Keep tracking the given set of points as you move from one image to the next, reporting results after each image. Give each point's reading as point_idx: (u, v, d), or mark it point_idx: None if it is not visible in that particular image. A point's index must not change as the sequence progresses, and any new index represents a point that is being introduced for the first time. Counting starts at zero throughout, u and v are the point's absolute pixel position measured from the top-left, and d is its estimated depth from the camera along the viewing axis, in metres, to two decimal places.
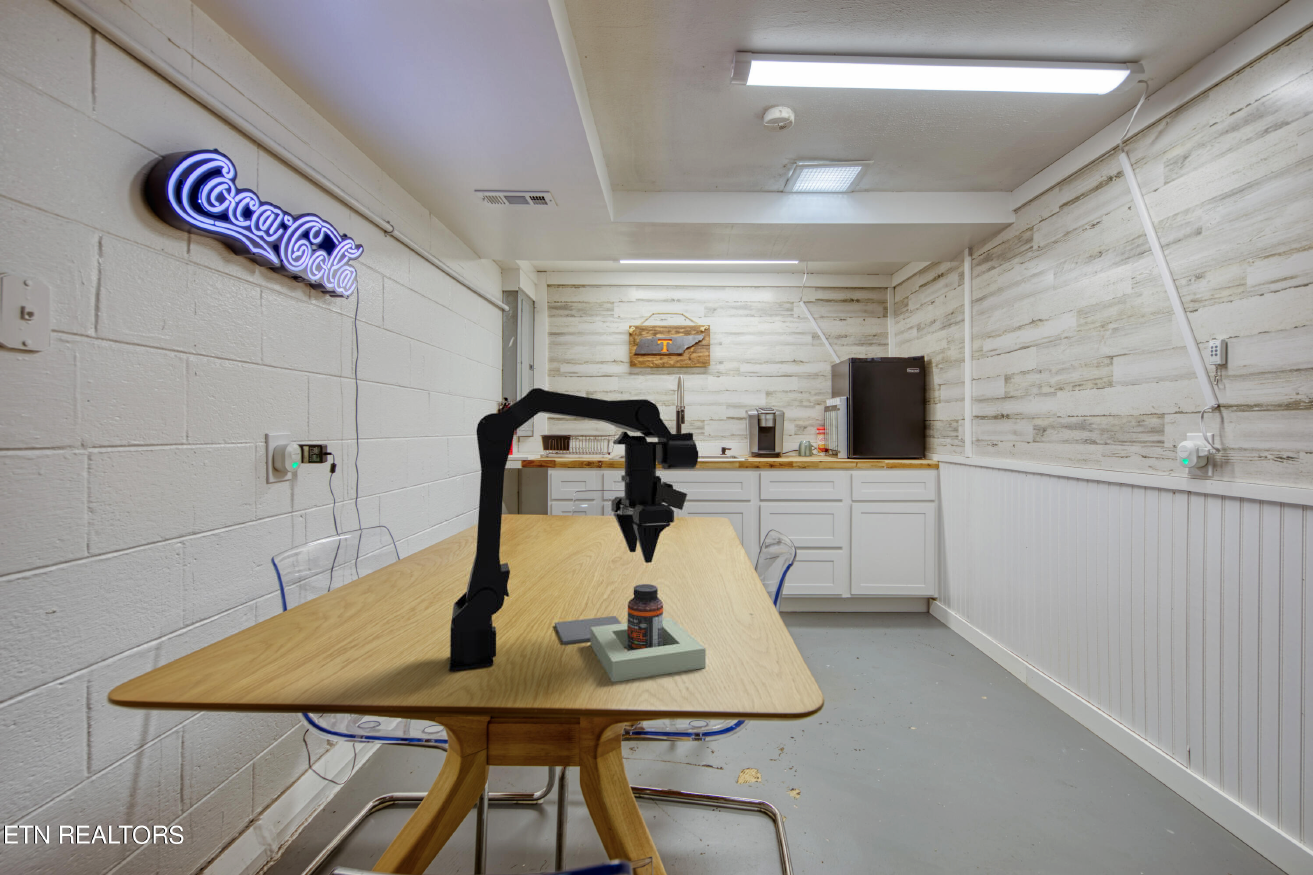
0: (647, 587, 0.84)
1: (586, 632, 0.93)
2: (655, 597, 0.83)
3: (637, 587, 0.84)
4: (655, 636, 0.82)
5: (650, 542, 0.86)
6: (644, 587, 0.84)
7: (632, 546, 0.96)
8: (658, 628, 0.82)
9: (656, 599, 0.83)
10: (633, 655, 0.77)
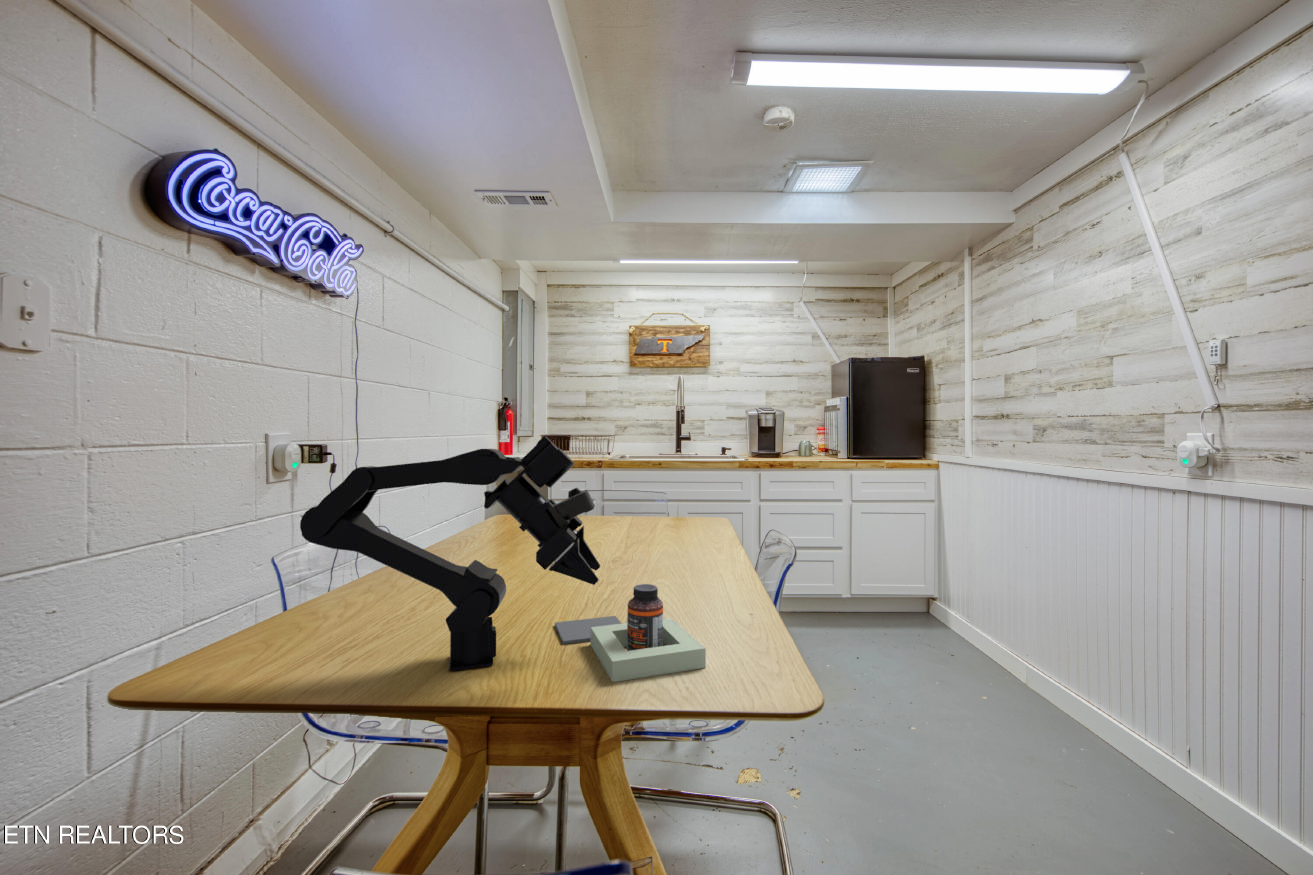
0: (647, 587, 0.84)
1: (586, 632, 0.93)
2: (655, 597, 0.83)
3: (637, 587, 0.84)
4: (655, 636, 0.82)
5: (579, 568, 0.78)
6: (644, 587, 0.84)
7: (593, 564, 0.88)
8: (658, 628, 0.82)
9: (656, 599, 0.83)
10: (633, 655, 0.77)
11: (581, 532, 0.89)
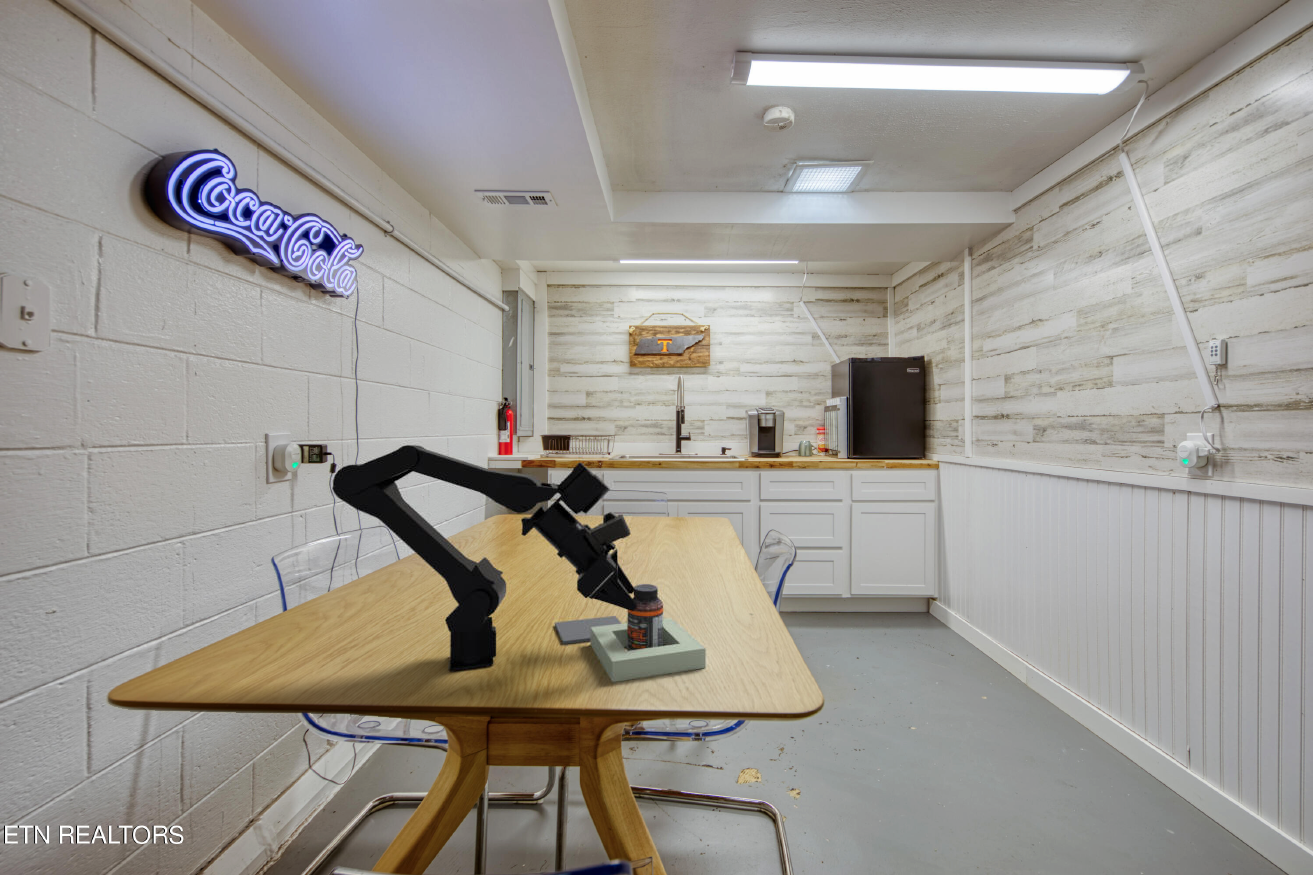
0: (647, 587, 0.84)
1: (586, 632, 0.93)
2: (655, 597, 0.83)
3: (637, 587, 0.84)
4: (655, 636, 0.82)
5: (618, 594, 0.78)
6: (644, 587, 0.84)
7: (628, 588, 0.89)
8: (658, 628, 0.82)
9: (656, 599, 0.83)
10: (633, 655, 0.77)
11: (615, 556, 0.89)
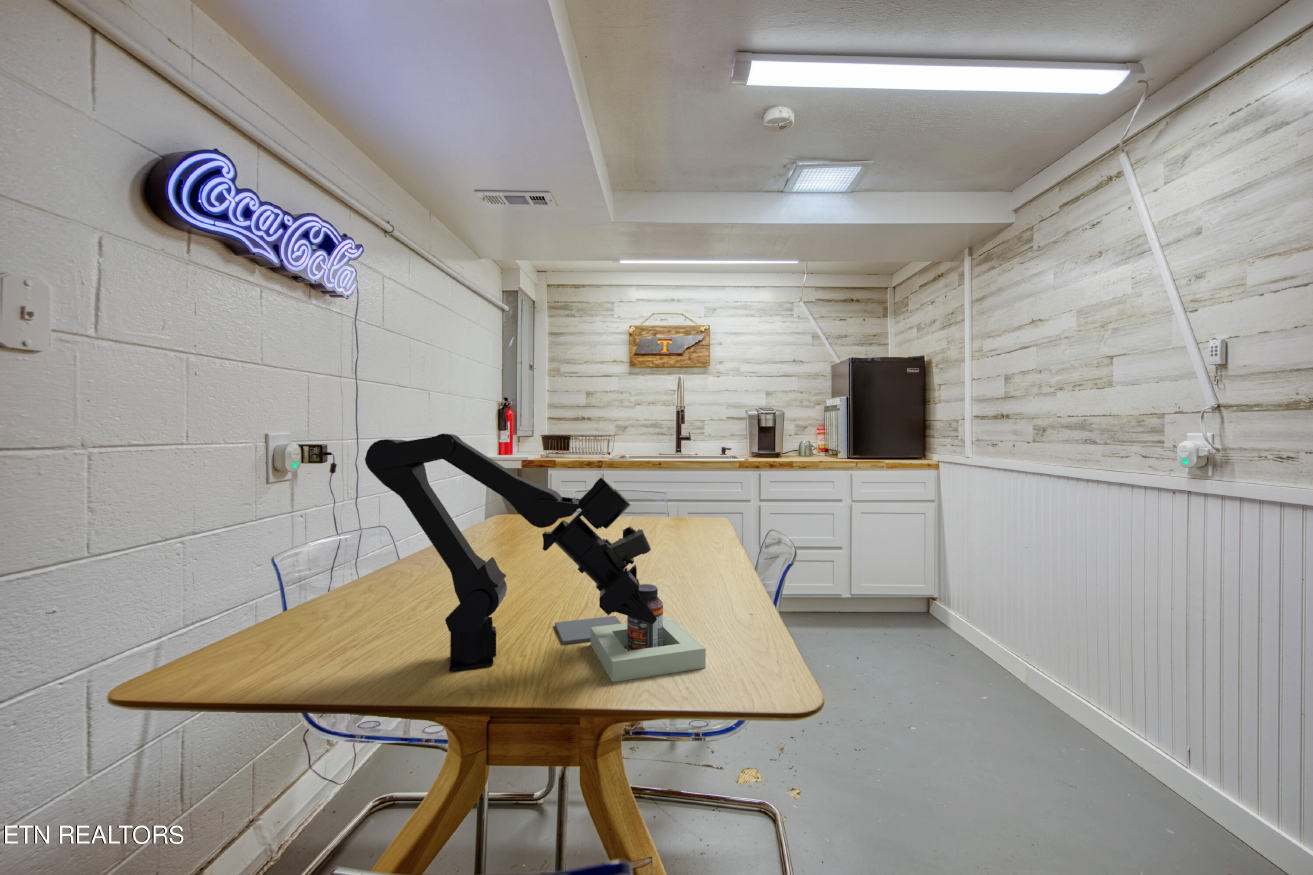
0: (647, 587, 0.84)
1: (586, 632, 0.93)
2: (655, 597, 0.83)
3: None
4: (655, 636, 0.82)
5: (639, 608, 0.80)
6: (644, 587, 0.84)
7: None
8: (658, 628, 0.82)
9: (656, 599, 0.83)
10: (633, 655, 0.77)
11: (634, 572, 0.88)
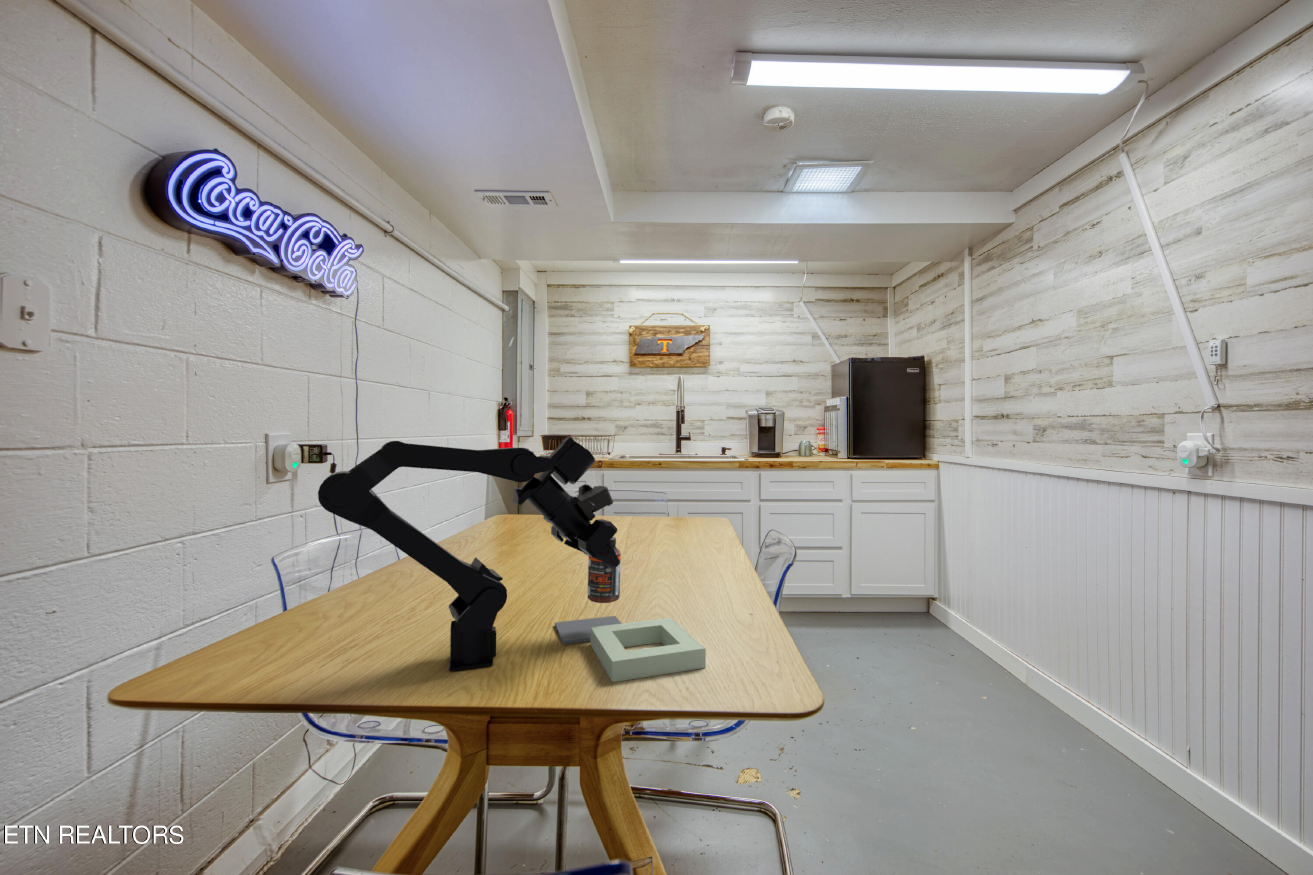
0: None
1: (586, 632, 0.93)
2: None
3: None
4: (617, 579, 0.92)
5: (608, 552, 0.89)
6: None
7: None
8: (619, 572, 0.93)
9: (615, 547, 0.94)
10: (633, 655, 0.77)
11: None
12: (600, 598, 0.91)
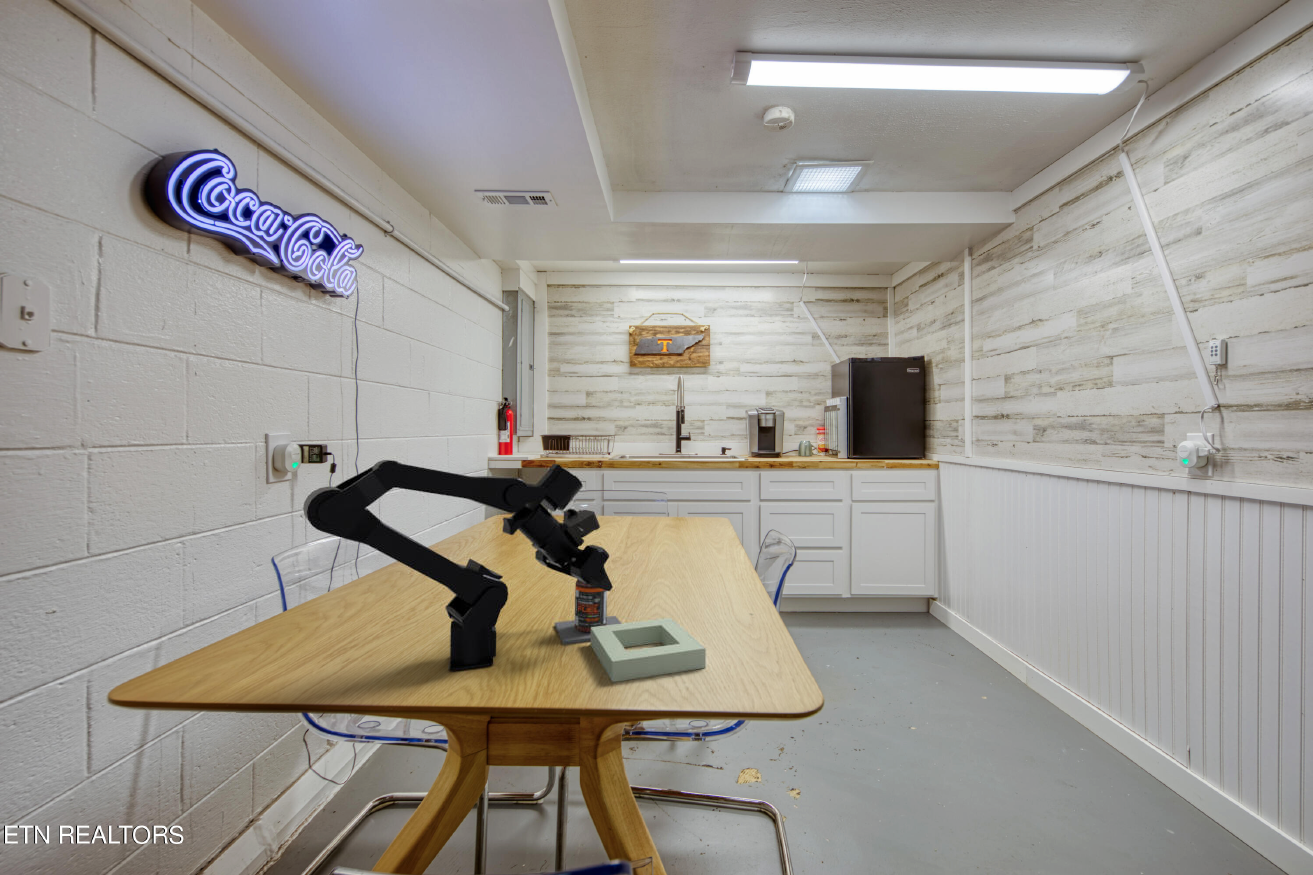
0: None
1: None
2: None
3: None
4: (605, 607, 0.94)
5: (602, 578, 0.90)
6: None
7: None
8: (606, 601, 0.95)
9: None
10: (633, 655, 0.77)
11: None
12: (589, 628, 0.92)
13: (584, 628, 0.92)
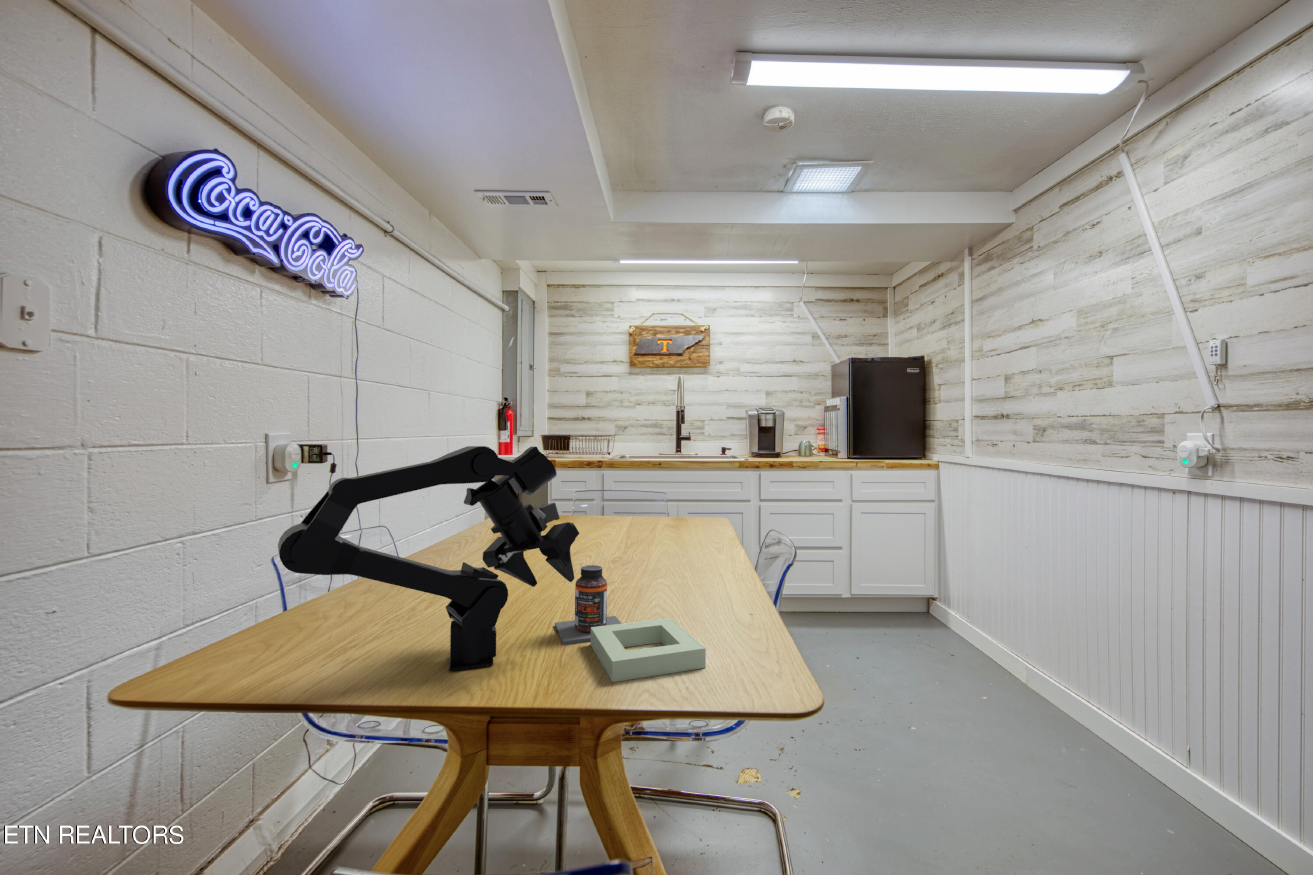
0: (593, 567, 0.95)
1: None
2: (601, 574, 0.95)
3: (585, 568, 0.94)
4: (605, 607, 0.94)
5: (567, 563, 0.86)
6: (591, 567, 0.95)
7: (532, 580, 0.92)
8: (606, 601, 0.95)
9: (602, 576, 0.95)
10: (633, 655, 0.77)
11: None
12: (589, 628, 0.92)
13: (584, 628, 0.92)
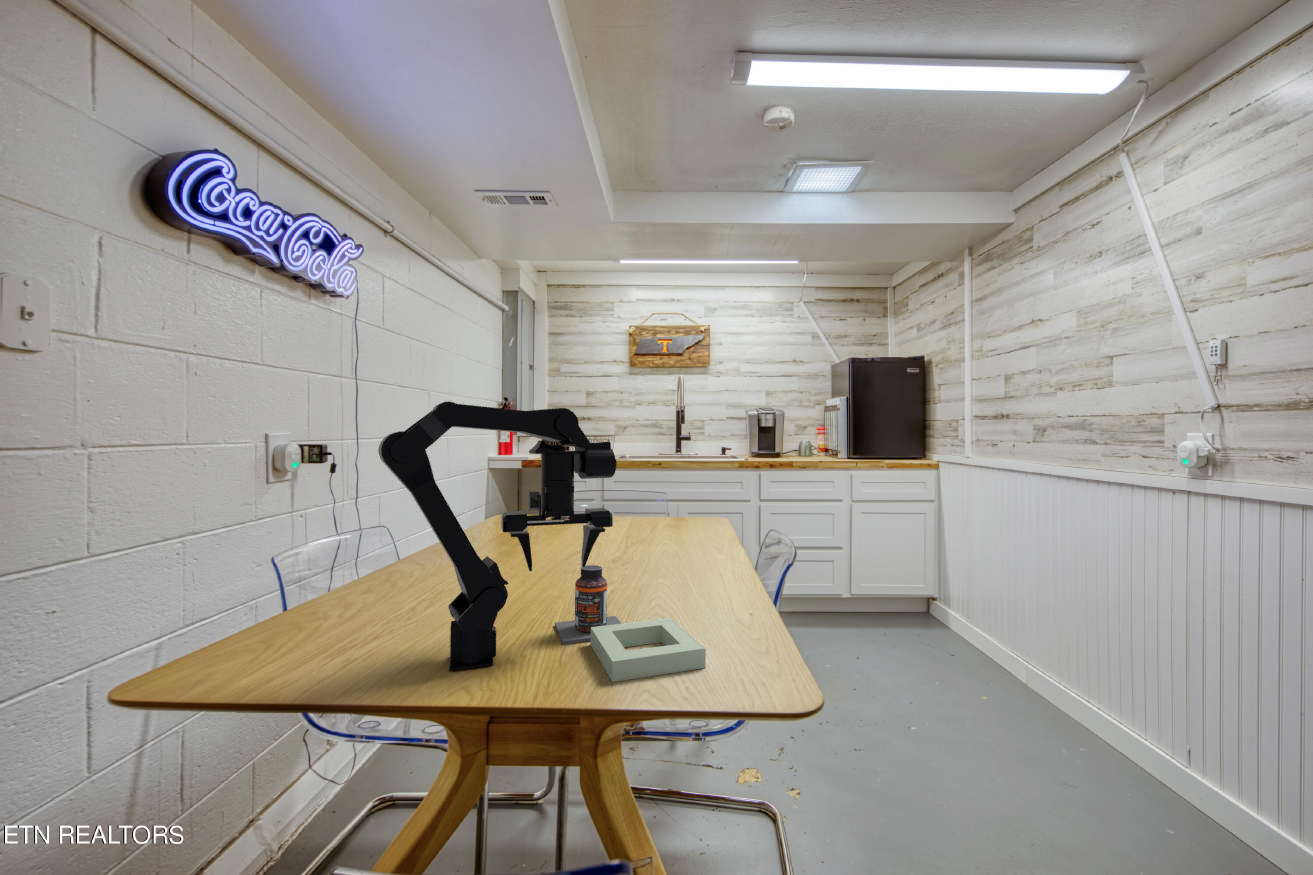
0: (592, 567, 0.95)
1: None
2: (601, 574, 0.95)
3: (585, 568, 0.94)
4: (605, 607, 0.94)
5: None
6: (591, 567, 0.95)
7: None
8: (606, 601, 0.95)
9: (602, 576, 0.95)
10: (633, 655, 0.77)
11: None
12: (589, 628, 0.92)
13: (584, 628, 0.92)
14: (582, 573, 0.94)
